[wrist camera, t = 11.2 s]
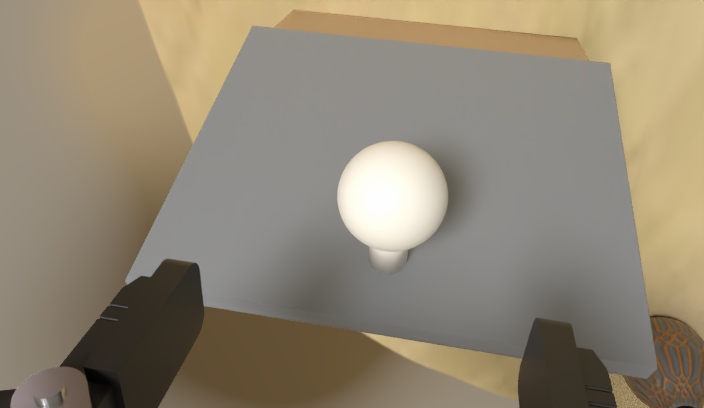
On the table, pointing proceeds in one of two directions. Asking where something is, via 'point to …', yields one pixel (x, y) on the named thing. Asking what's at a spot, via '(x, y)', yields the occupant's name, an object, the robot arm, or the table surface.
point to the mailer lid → (413, 196)
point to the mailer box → (434, 34)
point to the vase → (673, 368)
